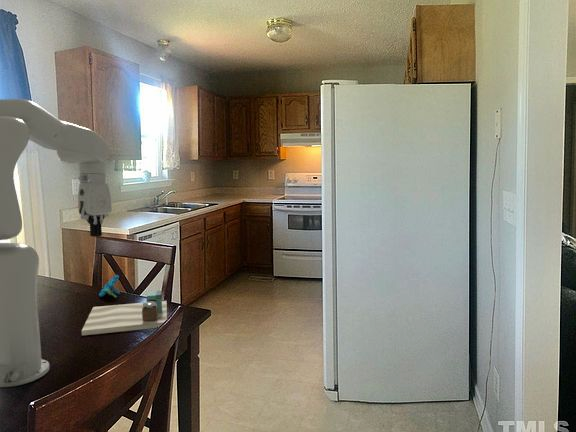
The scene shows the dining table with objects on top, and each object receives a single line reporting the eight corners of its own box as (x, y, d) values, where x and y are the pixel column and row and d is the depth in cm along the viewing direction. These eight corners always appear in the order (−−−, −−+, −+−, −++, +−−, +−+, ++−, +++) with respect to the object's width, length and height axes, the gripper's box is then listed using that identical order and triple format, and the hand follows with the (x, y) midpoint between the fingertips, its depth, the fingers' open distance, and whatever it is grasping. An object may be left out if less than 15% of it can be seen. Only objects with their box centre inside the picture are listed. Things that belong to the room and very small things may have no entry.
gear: (99, 288, 171) (117, 269, 171) (111, 297, 173) (129, 279, 173) (95, 300, 161) (114, 280, 161) (108, 309, 163) (127, 290, 163)
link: (156, 319, 135) (156, 308, 135) (142, 320, 134) (142, 309, 134) (159, 301, 152) (159, 291, 152) (147, 302, 151) (146, 292, 151)
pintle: (156, 320, 135) (156, 304, 135) (143, 322, 134) (142, 306, 134) (157, 316, 139) (156, 300, 138) (143, 317, 138) (143, 302, 137)
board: (167, 326, 134) (167, 322, 134) (81, 335, 128) (81, 330, 128) (166, 304, 155) (166, 300, 155) (93, 311, 149) (93, 307, 149)
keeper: (162, 312, 143) (161, 294, 142) (147, 313, 142) (146, 296, 141) (162, 307, 148) (161, 290, 147) (148, 308, 146) (147, 291, 146)
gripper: (83, 180, 132) (87, 240, 134) (119, 178, 146) (121, 233, 148) (64, 180, 135) (68, 239, 137) (101, 178, 149) (104, 232, 151)
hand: (96, 236), depth 142 cm, fingers closed
